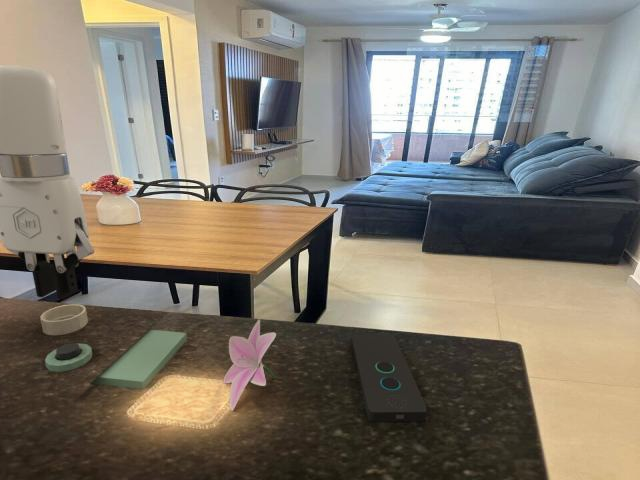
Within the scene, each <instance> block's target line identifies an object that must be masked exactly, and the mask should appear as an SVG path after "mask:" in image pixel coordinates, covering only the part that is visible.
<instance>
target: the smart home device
mask: <svg viewBox="0 0 640 480" xmlns="http://www.w3.org/2000/svg"><path fill="white" fill-rule="evenodd" d="M350 339H351V340H350V346H351V351H352V356H353V360H354V365H355V369H356V373H357V378H358V382H359V387H360V391H361V395H362V400H363V405H364V408H365V414H366V417H367V419H368V420H369V422H371V423H390V422H391V423H394V422H395V423H397V422H401V423H402V422H405V423H406V422H408V423H409V422H410V423H411V422H425V421H426V417H427V410H428V408H427V405H426V403H425V400H424V399H423V397H422V394H421V391H420V389H419V387H418V385H417V383H416V380H415V378H414V376H413V374H412V372H411V369H410V367H409V365H408V362H407V360H406V357H405V356H404V353H403V351H402V349H401V347H400V344H399V342H398V340H397V337H396V336H395V335H394V334H390V333H352V334H351V338H350Z"/></svg>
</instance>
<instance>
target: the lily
mask: <svg viewBox="0 0 640 480" xmlns="http://www.w3.org/2000/svg"><path fill="white" fill-rule="evenodd" d="M276 337H277V333H276V332H274V331H273V332H267V333H263V334H261V319H260V318H259V319H258V320H257V321H256V322H255V324H254V325H253V327H252V329H251V331H250V333H249V336H248V338H247V337H243V336H237V335H232V336H231V337H229V339H228V351H229V353H228V354H229V356H230V361H231V362H232V363H233V364H232V365H231V366H230V367H229V369H228V370H227V372H226V374H225V376H224V378H223V380H222V382H223V384H230V383H231V385H230V391H229V409H230V412H233V411H234V409H235V408H236V406H237V404H238V402H239V400H240V397H241V395H242V393H243V391H244V390H245V388H246V386H247V385H248V383H249V382H250V383H251V384H253V385H256V386H260V387H261V386H262V387H265V386H266V385H267V379H266V376H265V370H266V371H267V372H268V374H270V376H271V377H272V378H273V379H274V380H276V379H277V377H276V376H275V374H274V373H273V372H272V371H271V370H270V369H269V368H268V367H267V366H266V365H264V364H263V361H262V359H263V357H264V355H265V354H266V352H267V350H268V349H269V348H270V346H271V345H272V343H273V341H274V340H275V338H276Z"/></svg>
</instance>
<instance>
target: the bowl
mask: <svg viewBox="0 0 640 480" xmlns="http://www.w3.org/2000/svg"><path fill="white" fill-rule="evenodd" d="M39 319H40V325H41V329H42V333H43V334H45V335H47V336H63V335H68V334H71V333H74V332H77V331H80V330H82V329H83V328H84V327H85V326H87V324H88V322H89V321H88V313H87V308H86V305H82V304H79V303H72V304H71V303H70V304H63V305H59V306H55V307H53V308H50V309H48V310H45V311H44V312H43V313H41V315H40V316H39Z"/></svg>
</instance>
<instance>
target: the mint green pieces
mask: <svg viewBox="0 0 640 480" xmlns="http://www.w3.org/2000/svg"><path fill="white" fill-rule="evenodd" d="M187 340H188V333H187V332H179V331H169V330H160V329H159V330H158V329H148V330H147V331H146V332H145V333H144V334H143V335H141V336H140V337H139V338H138V339H137V340H136V341H135V342H134V343H133V344H131V346H129V347H128V348H127V349H126V350H125V351H124V352H123V353H121V355H119V356H118V357H117V359H115V360H114V361H113V362H112V363H111V364H110V365H109V366H107V368H105V369H104V370H103V371H102V372H101V373H100V374H99V375H98V376H97V377H96V378H94V380H92V381H91V382H90V383H89V384H90V385H91V384H92V385H99V386H100V385H101V386H109V387H118V388H127V389H137V390H145V389H146V388H147V387H148V386H149V384H150V383H151V382H152V381H153V380H154V379H155V378H156V376H157V375H158V374H159V373H160V372H161V371H162V369H163V368H164V367H165V366H166V365H167V363H168V362H169V361H170V360H171V359H172V358H173V356H174V355H176V353H177V352H178V351H179V349H180V348H181V347H183V345H184V344H185V343H186V342H187ZM76 344H78V345H79V347H80V355H79V356H78V357H75V358H73V359H70V360H65V361H59V360H58V359H57V354H56V350H57V349H58V348H55V349H54V350H52V351H51V352H50V353H48V354H47V355H46V357H45V359H44V364H45V368H46V369H47V370H48V371H50V372H55V373H63V372H67V371H68V372H69V371H73V370H75V369H78V368H80V367H82V366H84V365H86V364H87V363H88V362H89V361H90V360H91V359H92V357H93V349H92V347H91V346H90V345H89V344H86V343H79V342H78V343H76Z"/></svg>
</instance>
